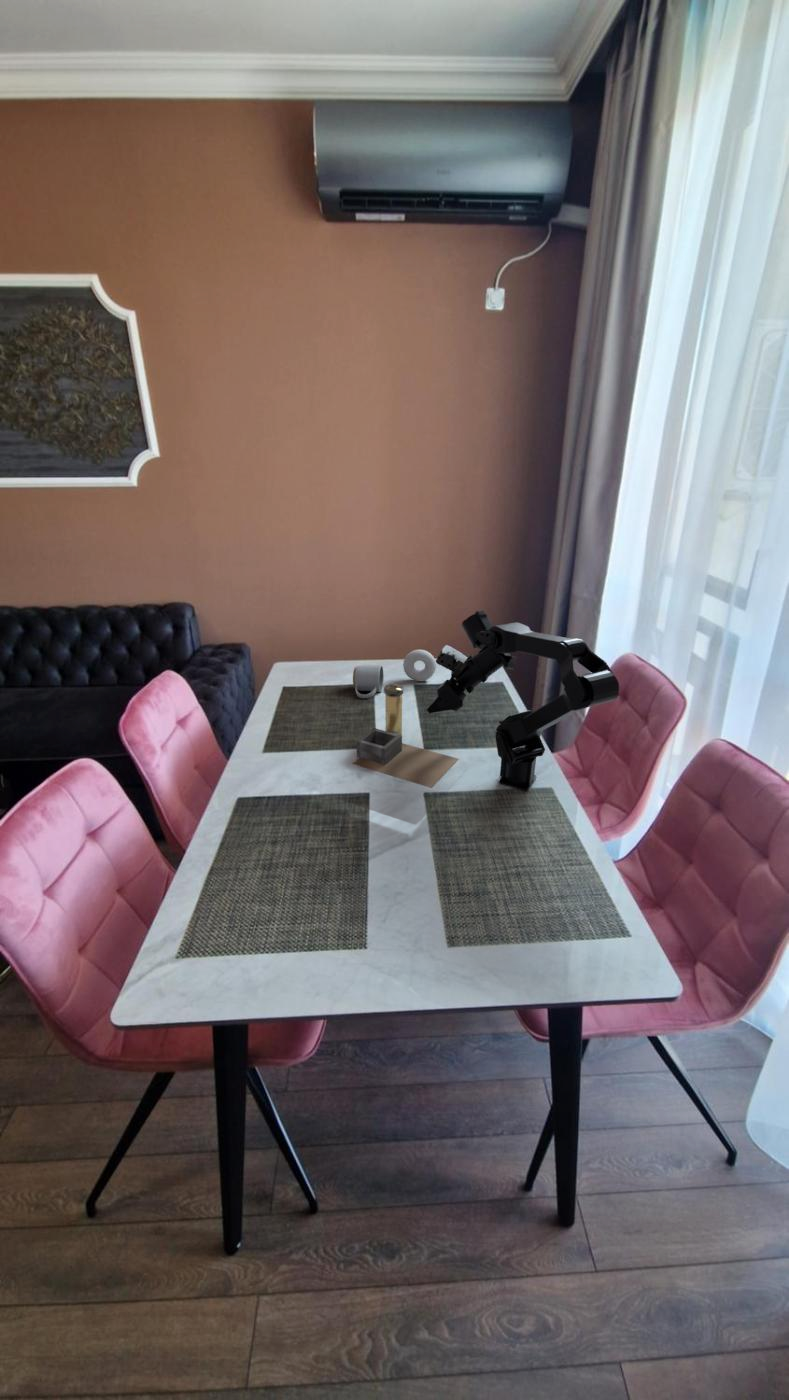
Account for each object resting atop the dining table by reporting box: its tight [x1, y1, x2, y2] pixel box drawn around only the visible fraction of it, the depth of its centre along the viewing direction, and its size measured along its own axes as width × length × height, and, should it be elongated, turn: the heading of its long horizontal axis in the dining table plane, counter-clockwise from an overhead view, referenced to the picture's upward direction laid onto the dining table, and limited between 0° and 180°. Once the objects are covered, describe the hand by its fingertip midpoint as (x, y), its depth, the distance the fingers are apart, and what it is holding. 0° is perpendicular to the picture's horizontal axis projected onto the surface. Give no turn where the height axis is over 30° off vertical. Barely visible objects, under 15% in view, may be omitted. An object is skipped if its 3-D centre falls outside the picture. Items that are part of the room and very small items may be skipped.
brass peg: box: [383, 683, 405, 736], centre depth 147 cm, size 5×5×14 cm
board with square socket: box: [351, 727, 460, 789], centre depth 137 cm, size 21×14×6 cm
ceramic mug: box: [352, 664, 385, 699], centre depth 175 cm, size 11×8×8 cm
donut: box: [402, 649, 437, 682], centre depth 182 cm, size 10×3×10 cm, turn 84°
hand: (433, 703), depth 141 cm, fingers open, 9 cm apart
